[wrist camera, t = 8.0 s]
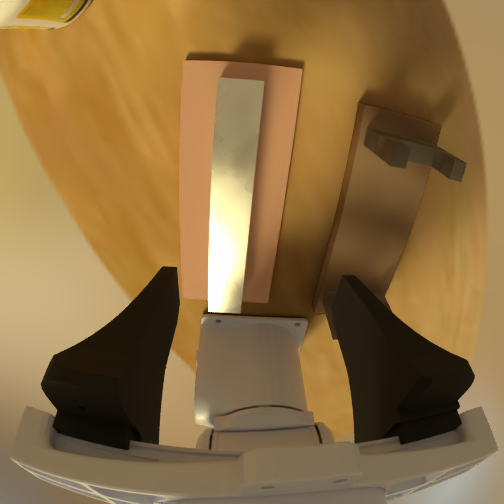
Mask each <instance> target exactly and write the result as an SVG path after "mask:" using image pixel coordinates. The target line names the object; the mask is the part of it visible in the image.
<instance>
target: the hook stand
mask: <svg viewBox="0 0 504 504" xmlns="http://www.w3.org/2000/svg"><path fill="white" fill-rule="evenodd" d="M440 130H441V126H440V125H438V124H435V123H433V122H430V121H427V120H424V119H420V118H417V117H414V116H410V115H407V114H403V113H399V112H396V111H392V110H388V109H384V108H380V107H376V106H372V105H367V104H363V103H358V108H357V114H356V119H355V125H354V130H353V135H352V141H351V146H350V151H349V156H348V161H347V166H346V170H345V175H344V180H343V184H342V189H341V193H340V198H339V202H338V206H337V211H336V215H335V219H334V223H333V227H332V231H331V235H330V239H329V243H328V247H327V251H326V255H325V259H324V262H323V266H322V270H321V274H320V277H319V281H318V284H317V288H316V292H315V295H314V299H313V302H312V307H313V311H314V314H326V316H327V320H328V323H329V327H330V330H331V334H332V338H333V339H338V338H337V335H336V331H335V327H334V322H333V315H332V305H333V302H334V299H335V296H336V293H337V290H338V287H339V283H340V280H341V277H342V275H355V276H356V277H357V278H358V279H359V280H360V281H361V282H362V283H363V284H364V285H365V286H366V287H367V288H368V289H369V290H370V291H371V292H372V293H373V294H374V295H375V296H376V297H377V298H378V299H379V300H380V301H381V302H382V303H383V304H384V305H385V306H386V307H387V308H388V309H389V310H390V311H391V309H390V306H389V304H388V302H387V300H386V298H385V295H386V292H387V290H388V288H389V285H390V283H391V281H392V278H393V276H394V273H395V271H396V269H397V266H398V264H399V261H400V258H401V256H402V253H403V251H404V248H405V245H406V243H407V240H408V237H409V235H410V232H411V229H412V226H413V223H414V220H415V217H416V215H417V212H418V208H419V205H420V202H421V199H422V196H423V193H424V190H425V186H426V183H427V180H428V176H429V173H430V169H431V166H432V167H433V168H435V169H436V170H438V171H439V172H440V173H442V174H443V175H445V176H446V177H447V178H449V179H451V180H455V181H459V182H461V181H462V178H463V174H464V171H465V168H466V164H467V163H465V162H463V161H462V160H460V159H458V158H457V157H455V156H453V155H452V154H450V153H448V152H447V151H445V150H443V149H441V148H440V147H438V146H437V142H438V138H439V134H440ZM391 312H392V311H391Z"/></svg>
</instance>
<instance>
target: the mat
mask: <svg viewBox="0 0 504 504" xmlns="http://www.w3.org/2000/svg"><path fill="white" fill-rule="evenodd" d="M302 71H303V69H298V68H291V67H283V66H275V65H266V64H256V63H244V62H229V61H200V60H183V74H182V91H181V114H180V151H179V209H180V247H181V271H182V290H183V298H189V299H203V300H208V282H209V230H210V200H211V176H212V155H213V137H214V121H215V106H216V92H217V80H218V77H237V78H251V79H262V80H264V91H263V100H262V109H261V119H260V128H259V138H258V147H257V157H256V166H255V176H254V186H253V195H252V205H251V215H250V225H249V234H248V244H247V254H246V264H245V274H244V284H243V294H242V302H254V303H268V299H269V293H270V287H271V281H272V275H273V269H274V263H275V257H276V251H277V244H278V238H279V232H280V225H281V219H282V213H283V206H284V200H285V193H286V186H287V180H288V173H289V166H290V159H291V152H292V145H293V138H294V131H295V124H296V117H297V109H298V102H299V94H300V86H301V79H302Z"/></svg>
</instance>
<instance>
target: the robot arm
mask: <svg viewBox="0 0 504 504" xmlns="http://www.w3.org/2000/svg"><path fill="white" fill-rule="evenodd" d="M179 306H180V299H179V287H178V275H177V267H165V266H163V267H162V268H161V269H160V270H159V271H158V273H157V274H156V275H155V276H154V278H153V279H152V280H151V281H150V282H149V284H148V285H147V286H146V287H145V288H144V289H143V290H142V292H141V293H140V294H139V295H138V296H137V297H136V298H135V299H134V300H133V301H132V302H131V303H130V304H129V305H128V307H126V308H125V309H124V310H123V311H122V312H121V313H120V314H119V315H118V316H117V317H115V318H114V319H113V320H112V321H111V322H109V323H108V324H107V325H105V326H104V327H103V328H101V329H100V330H99V331H97V332H96V333H94V334H93V335H91V336H90V337H88V338H86V339H85V340H83V341H81V342H80V343H78V344H76V345H74V346H72V347H70V348H68V349H66V350H64V351H62V352H60V353H58V354H55V355H54V356H53V358H52V360H51V361H50V363H49V365H48V368H47V370H46V373H45V375H44V377H43V380H42V382H41V387H42V390H43V391H44V393H45V395H46V396H47V397H48V399H49V400H50V401H51V402H52V404H53V405H54V406H55V407H56V409H57V414H56V416H55V417H54V416H53V415H51V414H49V413H47V412H44V411H41V410H38V409H35V408H32V407H29V406H26V407H25V410H24V412H23V415H22V418H21V420H20V423H19V426H18V429H17V432H16V435H15V438H14V441H13V444H12V448H11V451H10V454H9V457H10V459H11V460H13V461H14V462H15V463H17V464H19V465H20V466H21V467H23V468H24V469H26V470H27V471H28V472H30V473H31V474H33V475H35V476H36V477H38V478H39V479H42V480H44V481H47V482H49V483H52V484H54V485H57V486H60V487H63V488H65V489H68V490H71V491H74V492H77V493H80V494H83V495H85V496H89V497H92V498H95V499H98V500H101V501H105V502H108V503H112V504H387V503H386V502H387V501H390V500H393V499H397V498H400V497H403V496H406V495H409V494H412V493H414V492H417V491H420V490H423V489H425V488H428V487H431V486H433V485H435V484H438V483H440V482H443V481H445V480H448V479H450V478H453V477H455V476H457V475H460V474H462V473H464V472H466V471H468V470H470V469H471V468H473V467H474V466H476V465H477V464H479V463H480V462H482V461H483V460H485V459H486V458H488V457H489V456H490V455H492V454H493V453H495V452H496V451H497V450H498V447H497V444H496V441H495V439H494V436H493V434H492V431H491V428H490V426H489V423H488V421H487V418H486V416H485V414H484V411H483V409H482V407H477V408H474V409H471V410H468V411H465V412H463V413H461V414H460V415H459V414H458V411H457V409H459V407H460V405H459V402H458V400H459V398H460V397H461V396H462V395H463V394H464V393H465V392H466V391H467V390H468V389H469V387H470V386H471V385H472V383H473V381H474V378H475V375H474V373H473V371H472V369H471V367H470V365H469V363H468V361H467V360H466V359H464V358H461V357H459V356H457V355H454V354H452V353H450V352H448V351H446V350H444V349H442V348H440V347H439V346H437V345H435V344H433V343H432V342H430V341H429V340H427V339H426V338H424V337H422V336H421V335H419V334H418V333H417V332H415V331H414V330H413V329H411V328H410V327H409V326H407V325H406V324H405V323H404V322H402V321H401V320H400V319H399V318H398V317H397V316H396V315H394V314H393V313H392V312H391V311H390V310H389V309H388V308H387V307H386V306H385V305H384V304H383V303H382V302H381V301H380V300H379V299H378V298H377V297H376V296H375V295H374V294H373V293H372V292H371V291H370V290H369V289H368V288H367V287H366V286H365V285H364V284H363V283H362V282H361V281H360V280H359V279H358V278H357V277H356V276H355V275H342V277H341V280H340V283H339V287H338V290H337V293H336V296H335V299H334V302H333V305H332V315H333V322H334V327H335V331H336V335H337V338H338V341H339V345H340V348H341V351H342V355H343V358H344V361H345V365H346V368H347V373H348V377H349V384H350V390H351V398H352V407H353V418H354V435H355V436H354V439H355V444H354V443H351V442H335V440H334V436H333V434H332V432H331V430H330V429H329V428H328V427H327V426H325V424H324V423H322V422H317V423H314V417H313V412H312V411H309V412H308V410H307V404H306V397H305V390H304V384H303V377H302V371H301V365H300V359H299V351H300V348H301V345H302V342H303V339H304V336H305V333H306V330H307V326H308V321H307V319H305V318H278V317H253V316H233V315H216V314H204V315H203V316H202V320H201V322H202V325H201V334H200V342H199V350H197V354H196V368H197V369H196V380H195V397H194V411H195V422H196V424H199V425H204V426H209V427H213V428H207V429H205V430H204V432H203V433H202V434H201V435H200V436H199V438H198V441H197V444H196V449H193V448H182V447H173V446H164V445H159V427H160V412H161V401H162V391H163V382H164V375H165V369H166V364H167V360H168V356H169V352H170V348H171V344H172V341H173V337H174V333H175V329H176V325H177V320H178V313H179ZM217 319H219V320H217ZM296 323H297V324H296Z"/></svg>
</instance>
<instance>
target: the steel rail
mask: <svg viewBox="0 0 504 504" xmlns="http://www.w3.org/2000/svg"><path fill="white" fill-rule="evenodd" d="M263 91H264V80H262V79H251V78H237V77H218V80H217V92H216V106H215V121H214V137H213V155H212V176H211V200H210V230H209V282H208V312H223V313H241V304H242V294H243V284H244V274H245V264H246V254H247V244H248V234H249V225H250V215H251V205H252V195H253V186H254V176H255V166H256V157H257V147H258V138H259V128H260V119H261V109H262V100H263Z"/></svg>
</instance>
